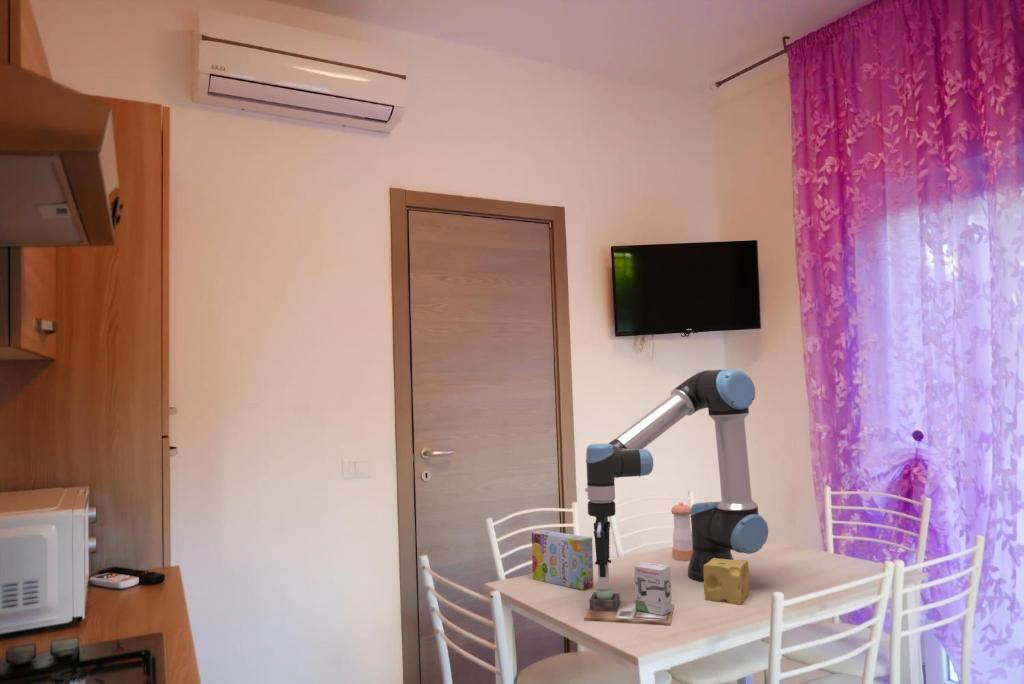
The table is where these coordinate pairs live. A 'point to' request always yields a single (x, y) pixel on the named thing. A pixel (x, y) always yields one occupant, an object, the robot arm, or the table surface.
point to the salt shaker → (682, 532)
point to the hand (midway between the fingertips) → (603, 588)
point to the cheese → (726, 580)
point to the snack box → (562, 559)
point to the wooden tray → (623, 612)
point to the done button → (605, 594)
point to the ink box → (653, 588)
